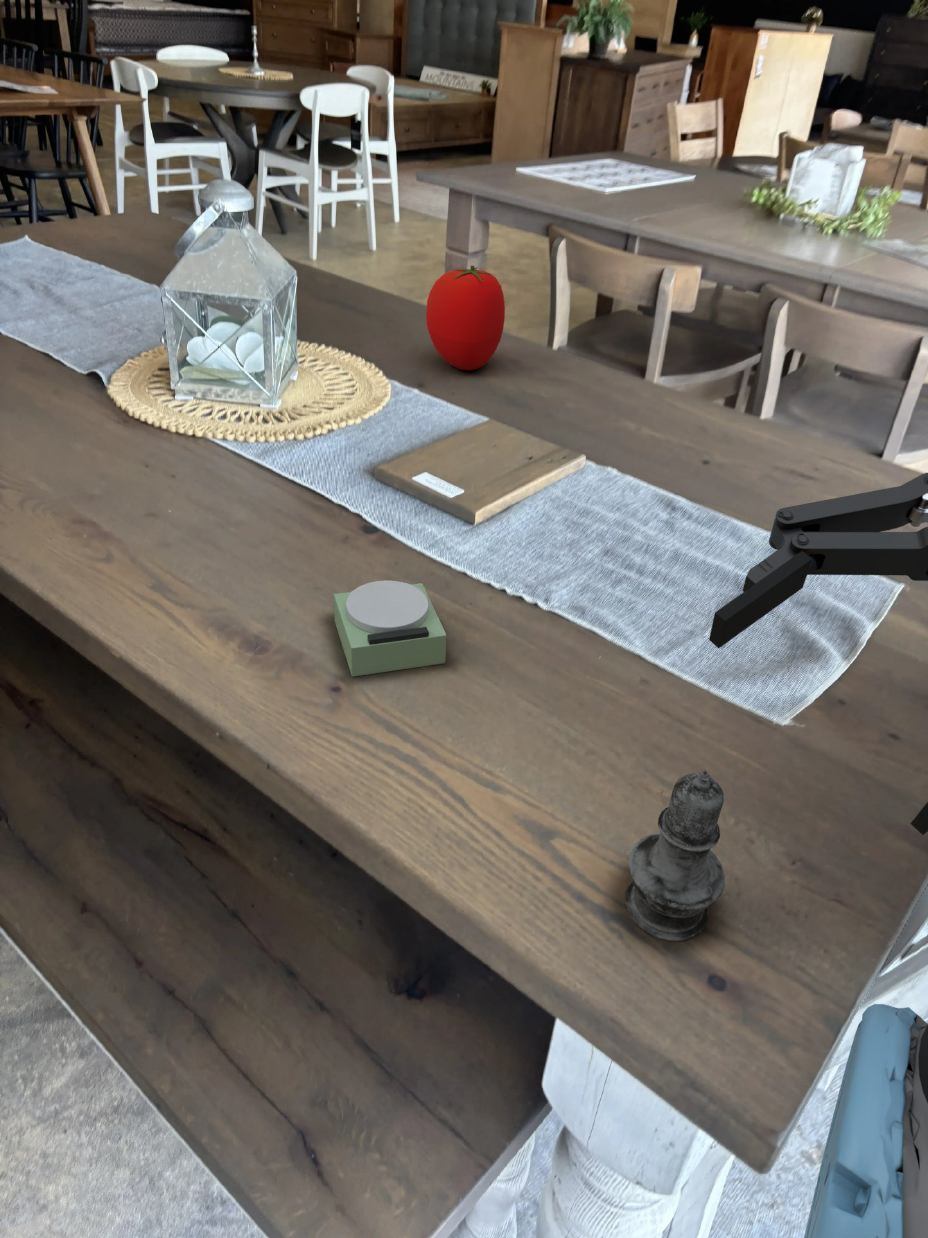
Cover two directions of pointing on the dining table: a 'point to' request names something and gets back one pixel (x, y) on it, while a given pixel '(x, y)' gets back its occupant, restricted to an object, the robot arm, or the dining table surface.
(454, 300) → the tomato
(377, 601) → the scale
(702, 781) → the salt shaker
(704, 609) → the dining table surface
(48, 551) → the dining table surface
